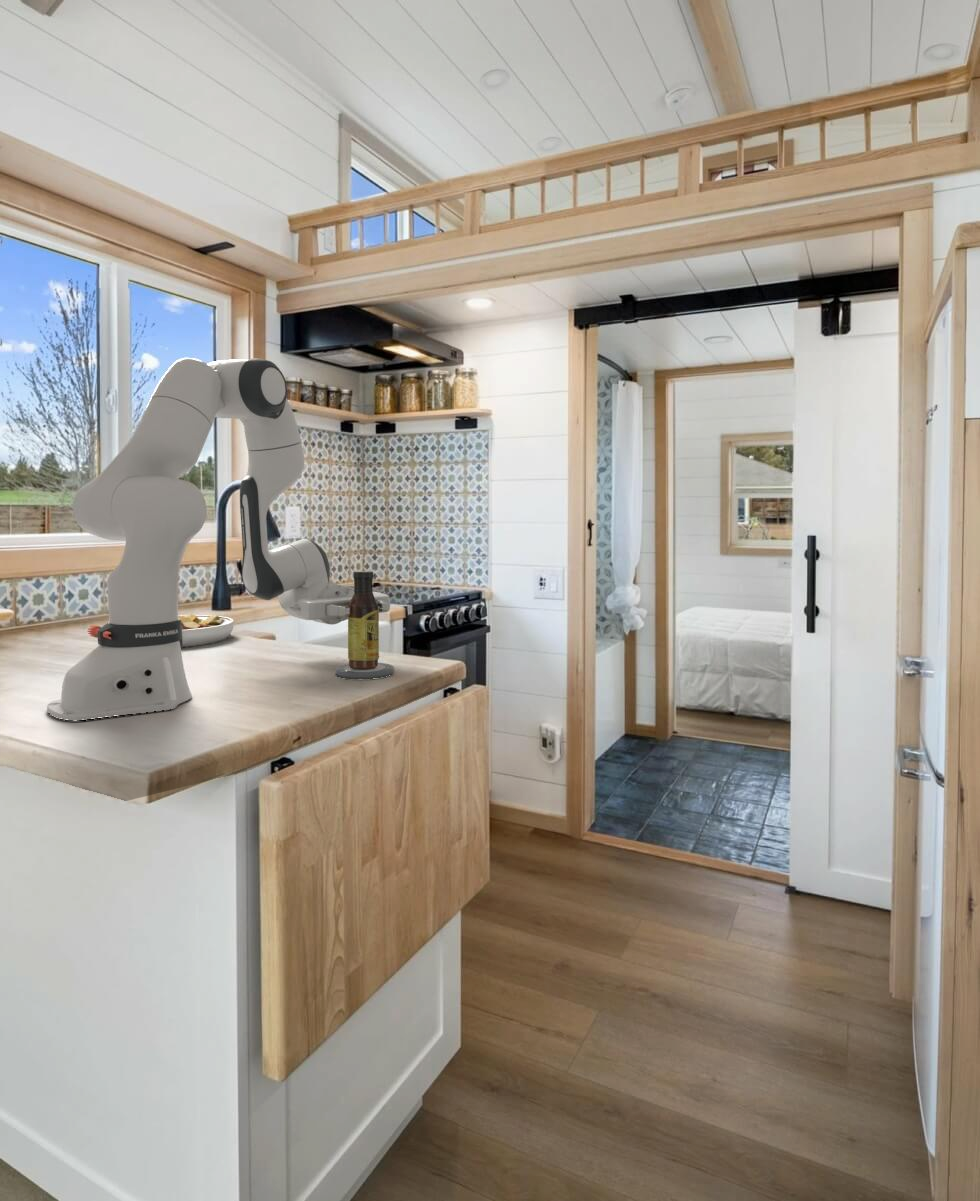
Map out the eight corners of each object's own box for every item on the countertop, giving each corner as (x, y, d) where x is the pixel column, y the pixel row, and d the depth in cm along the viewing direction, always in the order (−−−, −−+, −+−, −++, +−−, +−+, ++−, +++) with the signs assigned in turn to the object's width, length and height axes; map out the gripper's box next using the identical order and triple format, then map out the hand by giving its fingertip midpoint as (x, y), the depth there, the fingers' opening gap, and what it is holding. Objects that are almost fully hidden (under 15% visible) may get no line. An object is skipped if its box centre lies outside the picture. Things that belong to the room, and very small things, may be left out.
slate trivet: (357, 682, 149) (357, 676, 149) (323, 673, 158) (323, 667, 158) (405, 673, 158) (405, 667, 158) (371, 665, 166) (371, 659, 166)
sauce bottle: (372, 671, 154) (371, 572, 152) (343, 669, 155) (342, 572, 153) (383, 665, 160) (382, 570, 158) (355, 663, 161) (354, 570, 159)
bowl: (112, 636, 207) (110, 607, 206) (228, 630, 219) (227, 602, 218) (106, 655, 180) (104, 622, 179) (239, 646, 192) (238, 615, 191)
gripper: (285, 592, 158) (321, 597, 148) (367, 586, 172) (405, 590, 162) (286, 622, 159) (322, 629, 149) (367, 614, 173) (405, 620, 163)
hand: (366, 609), depth 156 cm, fingers open, 8 cm apart
